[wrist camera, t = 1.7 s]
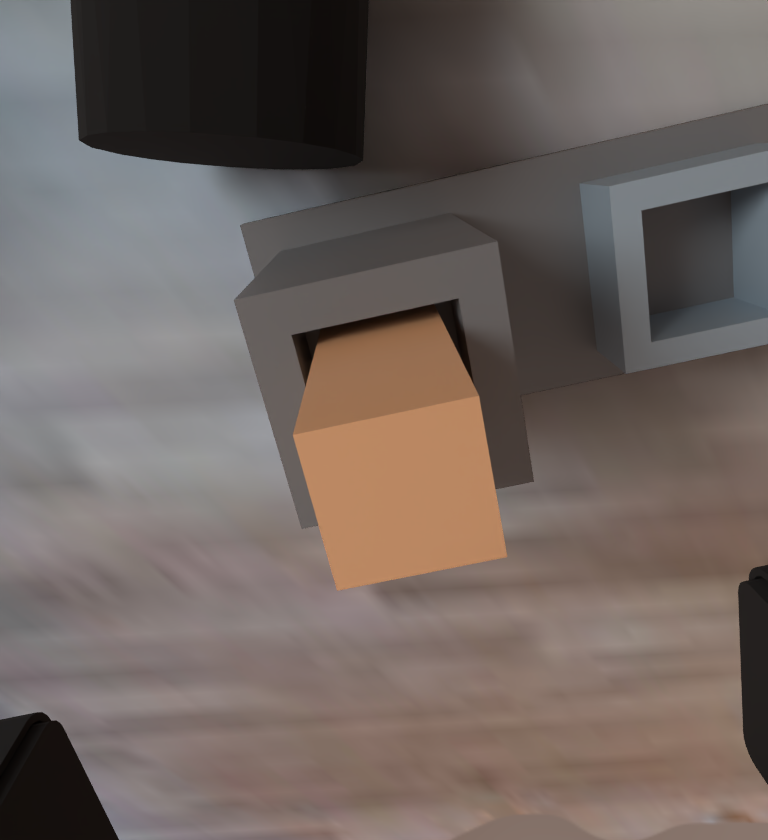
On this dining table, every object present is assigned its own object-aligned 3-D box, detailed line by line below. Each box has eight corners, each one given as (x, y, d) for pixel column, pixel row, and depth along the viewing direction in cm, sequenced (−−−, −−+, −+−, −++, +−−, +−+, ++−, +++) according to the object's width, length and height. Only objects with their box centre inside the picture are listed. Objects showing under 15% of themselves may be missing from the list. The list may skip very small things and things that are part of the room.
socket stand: (777, 101, 31) (1047, 61, 19) (778, 333, 35) (1002, 426, 22) (243, 223, 32) (169, 261, 20) (302, 434, 36) (271, 573, 24)
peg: (433, 302, 23) (479, 395, 14) (453, 408, 25) (506, 556, 16) (321, 327, 24) (292, 435, 14) (347, 431, 25) (337, 590, 16)
